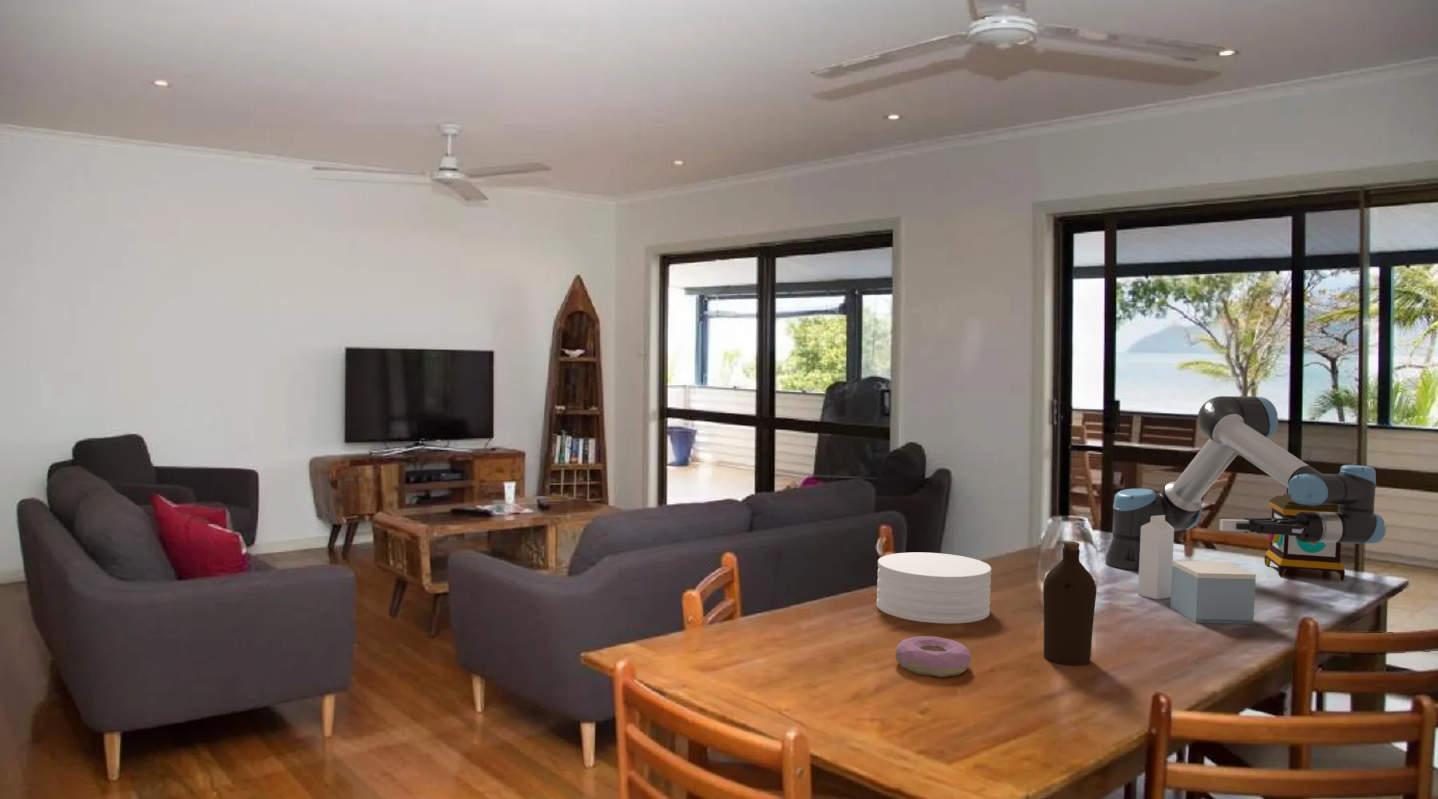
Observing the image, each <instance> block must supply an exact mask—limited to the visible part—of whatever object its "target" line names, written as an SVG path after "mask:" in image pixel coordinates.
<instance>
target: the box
mask: <svg viewBox="0 0 1438 799" xmlns="http://www.w3.org/2000/svg"><path fill="white" fill-rule="evenodd" d="M1256 582H1257V581H1256V579H1218V578H1197V577H1195V576H1193V575H1191V574H1189V573H1187V572H1185V571H1183V570H1181V569H1179V568H1177V567H1174V566H1172V580H1171V597H1170V604H1169V606H1170V609H1172V610H1173V611H1175V612H1177V613H1178V614H1180V615H1182V616H1183V617H1185V618H1187V619H1188V620H1190V621H1192V622H1194V623H1195V624H1197V623H1198V624H1224V625H1225V624H1226V625H1227V624H1230V625H1231V624H1232V625H1233V624H1234V625H1254V617H1255V616H1254V613H1255V600H1256V599H1255V598H1256V596H1255V595H1256Z"/></svg>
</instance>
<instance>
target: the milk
mask: <svg viewBox="0 0 1438 799" xmlns="http://www.w3.org/2000/svg"><path fill="white" fill-rule="evenodd" d="M1174 539H1175V531H1174V528H1173V527H1172V526H1171V525H1170V524H1169V523H1167V522H1166V521H1165V515H1158V516H1151V521H1150V522H1149V523H1147V524H1145V525H1143V526H1141V536H1140V558H1139V570H1138V583H1137V585H1138V586H1137V595H1138V596H1141V597H1144V598H1145V597H1146V598H1149V599H1152V600H1162V599H1163V600H1164V599H1168V598H1170V599H1171V580H1172V561H1174V559H1173V558H1174V541H1175V540H1174Z"/></svg>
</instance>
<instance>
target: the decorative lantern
mask: <svg viewBox="0 0 1438 799" xmlns="http://www.w3.org/2000/svg"><path fill="white" fill-rule="evenodd" d="M1268 503H1269V504H1268V505H1269V506H1270V508H1271V517H1275V518H1290V519H1294V518H1295V516H1296V514H1298V513H1299V512H1315V513H1316V512H1333V513H1338V512H1339V509H1338V504H1329V505H1315V506H1309V505H1301V504H1298V503H1296V502H1294V501H1293V500H1292V499H1291V496H1290V495H1289V493H1288V491H1287V493H1284V494H1283V495H1275V496H1274V497H1272V498H1271V499H1269V500H1268ZM1267 536H1268V540H1269V541H1270V542H1269V548H1268V550H1267V551H1266V552H1265V555H1264V564H1265V566H1266V565H1269V566H1270V565H1271V563H1273V564H1274V565H1276V566H1277V568H1278V569H1277V570H1278V576H1279V577H1280V576H1283V577H1284V576H1285V571H1286V570H1289V569H1290V570H1292V569H1293V570H1305V571H1306V570H1307V571H1319V572H1331V573H1333V572H1334V573H1337V580H1338V582H1343V581H1344V580H1345V576H1346V570H1345V567H1344V566H1343V563H1342V561H1341V551H1342V544H1343V543H1331V542H1329V545H1325V543H1324V542H1301V541H1299V540H1298V539H1297V538H1296V536H1290V535H1278V534H1267Z"/></svg>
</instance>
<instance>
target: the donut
mask: <svg viewBox="0 0 1438 799" xmlns="http://www.w3.org/2000/svg"><path fill="white" fill-rule="evenodd" d="M894 653H895V654H894V657H895V660H896V662H898V663H899V664H900V666H901V667H902V668H903V669H906V670H908V671H910V672H912V673H915V674H917V675H922V676H929V677H930V676H931V677H940V678H945V677H951V676H957V675H958V676H959V675H960V674H963V672H965V671H966V670H967V669H968V667H970V665H971V662H972V657H971V653H970V650H969V649H968V648H967V646H965V645H964V644H963V643H961V642H958V641H955V640H954V639H949V638H945V637H944V638H943V637H939V636H932V635H931V636H930V635H929V636H927V635H926V636H913V637H909V638H905V639H902V640H901V641H900V642H899V643H897V645H896V649H895V652H894Z"/></svg>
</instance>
